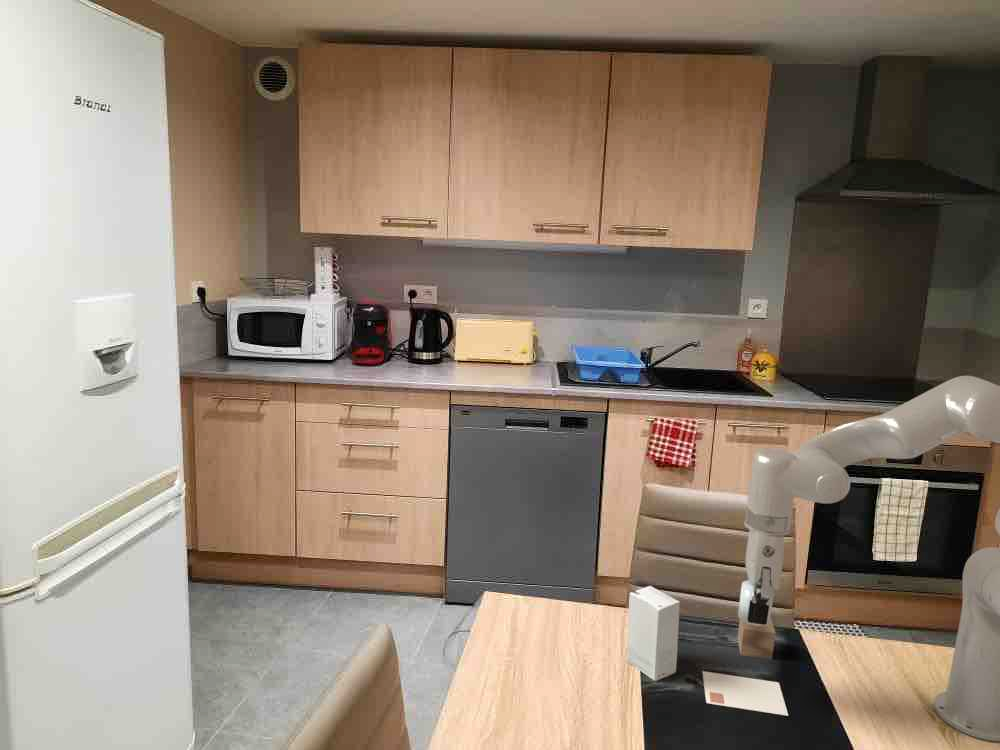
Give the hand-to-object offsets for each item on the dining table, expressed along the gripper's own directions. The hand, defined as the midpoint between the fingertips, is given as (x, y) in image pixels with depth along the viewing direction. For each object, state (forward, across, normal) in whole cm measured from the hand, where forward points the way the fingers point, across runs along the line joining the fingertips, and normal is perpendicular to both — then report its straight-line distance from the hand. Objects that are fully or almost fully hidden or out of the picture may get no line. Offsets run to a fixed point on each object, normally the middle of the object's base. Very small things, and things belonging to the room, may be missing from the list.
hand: (754, 613), depth 135 cm
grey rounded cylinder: (+1, 0, 0) cm, 1 cm away
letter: (+16, 0, 0) cm, 16 cm away
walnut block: (+16, +16, -4) cm, 23 cm away
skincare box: (+16, +4, +17) cm, 24 cm away
